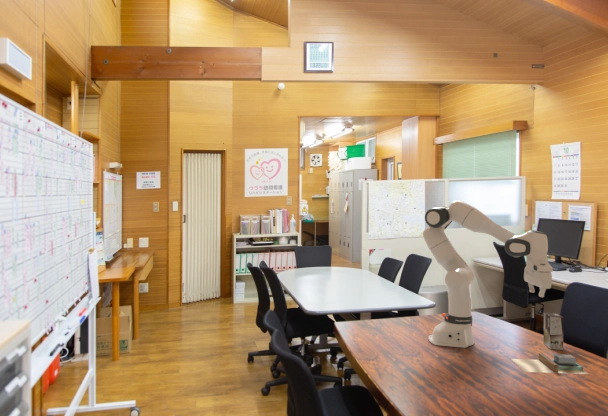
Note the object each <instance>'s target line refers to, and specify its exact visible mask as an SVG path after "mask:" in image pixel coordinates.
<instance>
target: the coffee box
mask: <svg viewBox="0 0 608 416" xmlns="http://www.w3.org/2000/svg"><path fill="white" fill-rule="evenodd" d="M564 321H565V317H564V316H562V315H560V314H559V313H557V312H543V344H544V345H545V346H546V347H547V348H549V350H559V351H564V327H565V326H564V323H565V322H564Z"/></svg>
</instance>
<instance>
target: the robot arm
mask: <svg viewBox="0 0 608 416" xmlns="http://www.w3.org/2000/svg"><path fill="white" fill-rule="evenodd" d="M424 220H425V223H426V224H427V227H426V228H425V229H424V230H423V232H422V237H423V239H424V241H425V244H426V246H427V247H428V250H429V251H430V252H431V254H432V256H433V257H434V259H435V260H436V262H437V263H438V265H440V266H441V267H442V268H443V269H444V271H446V274H445V277H444V283H445V285H446V291H447V297H448V313H445V312H443V313H442V314H441V316H442V317H443V318H444V320H443V321H442V322H440V323H439V324H437V325H436V326H434V328H433V331H432V334H429V335H428V337H427V338H428V341H429V343H431V344H433V345H435V346H442V347H455V348H463V349H466V348H468V347H471V346H473V345H475V340H474V336H473V330H472V329H473V328H472V327H473V315H472V298H471V294H470V285H471V284H472V283H473V282H474V280H475V271H474V270H473V268H471V267H470V266H469V265H468V263H467V262H466V260H464V259H463V257H462V256H461V255H460V254H459V253H458V252H457V250H456V248H455V247H454V246H453V244H452V243H451V241H450V240H449V238H448V237H447V235H446V233H445V230H446V229H447V228H448V227H449V226H450V224H451V223H453V222H455V223H457V224H458V225H460V226H461V227H464V228H465V229H466V230H469V231H471V232H473V233H480V234H486V235H489V236H491V237H493V238H495V239H497V240H498V241H500V242H501V243H503V244H504V251H505V253H507V255H509V256H510V257H513V258H520V257H525V258H526V261H525V262H526V263H525V265H526V266H525V267H524V270H523V271H524V272H523V280H524V282H527V284H528V287H529V293H533V294H534V293H535V292H536V291H535V290H536V289H535V287H538V288H539V292H538V297H540V298H544V297H545V293H546V291H547V290H548V289H549V290H550V289H551V288H552V282H553V280H552V279H553V278H552V277H553V275H552V273H553V270H554V268H553V266H552V265H551V264H550V262H549V259H548V251H549V243H548V242H549V240H548V236H547V234H546V233H545V232H543V231H540V230H534V229H531V230H527V231H526V232H524V233H522V234H516V233H513V232H511V231H509V230H507V229H505V227H502V226H501V225H499V224H498V223H496V222H495V221H493V220H492V219H491V218H489V217H488V216H487V215H486V214H484V212H482V211H481V210H480V209H478V208H476V207H474V206H473V205H471V204H469V203H467V202H464V201H462V200H459V199H458V200H453V202H451V203H450V204H449V205H448V207H447V206H435V207H431V208H430V209H428V210H427V211H426V213H425V215H424Z"/></svg>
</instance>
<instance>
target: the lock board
mask: <svg viewBox="0 0 608 416" xmlns="http://www.w3.org/2000/svg"><path fill="white" fill-rule="evenodd" d="M510 360H511V361H512V362H513V363H514V364H515V365H516V366H518V367H519V368H520V370H522V371H523V372H524V373H538V374H539V373H543V374H545V373H547V374H568V375H569V374H572V375H573V374H575V375H589V373H588V372H587V371H585V370H584V367H583V366H582V365H580V363H578V362H576V366H558V364H556V363H555V362H554V359H551V358H550V357H548V356H547V355H545V354H544V353H543V352H542V353H541V352H539V353H538V359H531V358H530V359H529V358H528V359H527V358H526V359H525V358H522V359H521V358H510Z"/></svg>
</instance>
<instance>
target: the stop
mask: <svg viewBox="0 0 608 416" xmlns="http://www.w3.org/2000/svg"><path fill="white" fill-rule="evenodd" d="M553 360H554V362H555V363H556V364H558V366H576V363H577V359H576V357H575V356H573V355H572V354H563V353H562V354H561V353H560V354H558V353H555V354H553Z"/></svg>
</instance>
